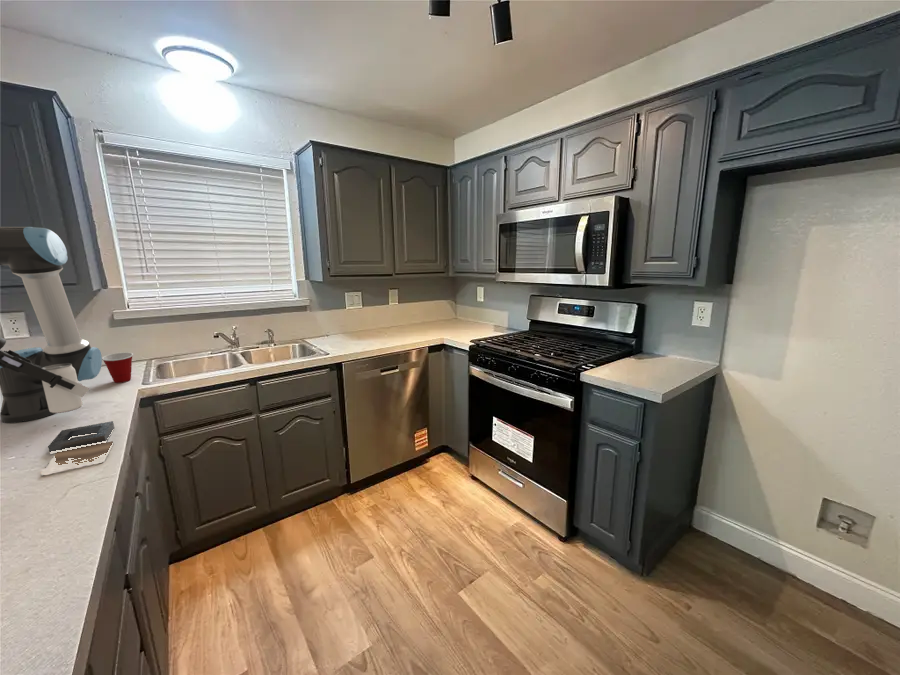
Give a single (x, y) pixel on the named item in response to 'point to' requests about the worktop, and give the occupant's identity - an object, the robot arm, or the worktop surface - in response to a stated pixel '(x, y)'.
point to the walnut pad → (83, 453)
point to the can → (61, 390)
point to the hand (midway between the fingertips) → (81, 390)
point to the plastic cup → (119, 366)
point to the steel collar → (63, 442)
